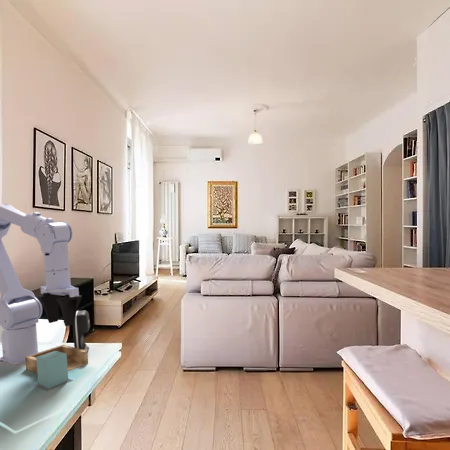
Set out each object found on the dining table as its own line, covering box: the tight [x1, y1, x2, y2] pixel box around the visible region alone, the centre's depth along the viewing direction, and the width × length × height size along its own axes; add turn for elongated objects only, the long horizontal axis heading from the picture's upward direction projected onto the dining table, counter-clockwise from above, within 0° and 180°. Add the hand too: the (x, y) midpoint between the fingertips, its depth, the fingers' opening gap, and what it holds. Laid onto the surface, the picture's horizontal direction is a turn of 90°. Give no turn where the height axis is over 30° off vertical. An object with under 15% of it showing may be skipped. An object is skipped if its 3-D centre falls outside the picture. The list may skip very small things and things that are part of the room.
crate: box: [25, 344, 89, 374], centre depth 94 cm, size 11×10×3 cm
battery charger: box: [72, 309, 91, 354], centre depth 103 cm, size 7×4×11 cm, turn 15°
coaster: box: [33, 377, 74, 392], centre depth 83 cm, size 6×6×1 cm
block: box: [36, 351, 69, 389], centre depth 83 cm, size 4×4×6 cm
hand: (61, 323), depth 95 cm, fingers open, 7 cm apart
